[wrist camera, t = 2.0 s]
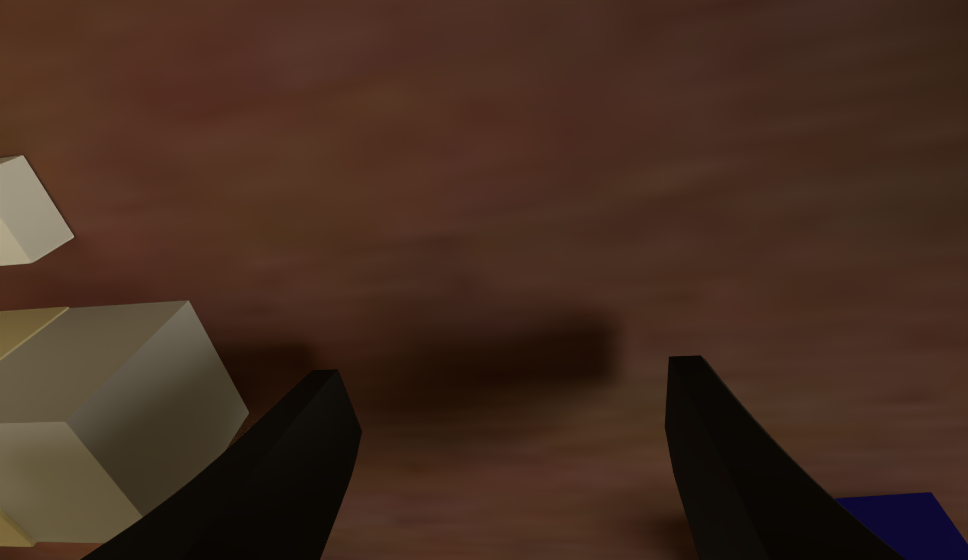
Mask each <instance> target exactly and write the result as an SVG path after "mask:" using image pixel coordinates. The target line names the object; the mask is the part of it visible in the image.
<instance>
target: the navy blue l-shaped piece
mask: <svg viewBox="0 0 968 560" xmlns="http://www.w3.org/2000/svg"><path fill="white" fill-rule="evenodd" d="M835 500H836V501H837V502H838V503H839V504H841V505H842V506H843V507H844V508H845V509H846V510H847V511H849V512H850V513H851V514H852V515H853V516H854V517H856V518H857V519H858V520H859V521H860V522H861V523H862V524H864V525H865V526H866V527H867V528H868V529H870V530H871V531H872V532H873V533H874V534H876V535H877V536H878V537H879V538H880V539H882V540H883V541H884V542H885V543H887V544H888V545H889V546H890V547H891V548H893V549H894V550H895V551H896V552H898V553H899V554H900V555H901V556H903V557H904V558H905V559H906V560H968V544H967V543H966V541H965V540H964V538H963V537H962V535H961V534H960V533H959V531H958V530H957V528H956V527H955V526H954V524H953V523H952V521H951V520H950V518H949V517H948V516H947V514H946V513H945V511H944V510H943V508H942V507H941V506H940V504H939V503H938V501H937V500H936V498H935V497H934V496H933V494H932V493H931V492H930V493H914V494H899V495H883V496H868V497H852V498H836V499H835Z"/></svg>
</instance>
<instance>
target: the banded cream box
mask: <svg viewBox="0 0 968 560" xmlns="http://www.w3.org/2000/svg"><path fill="white" fill-rule="evenodd" d="M248 414H249V411H248V410H247V408H246V406H245V404H244V402H243V400H242V398H241V397H240V395H239V393H238V391H237V389H236V387H235V385H234V384H233V382H232V380H231V378H230V376H229V374H228V372H227V371H226V369H225V367H224V365H223V363H222V361H221V359H220V358H219V356H218V354H217V352H216V350H215V348H214V346H213V345H212V343H211V341H210V339H209V337H208V335H207V333H206V332H205V330H204V328H203V326H202V324H201V322H200V320H199V319H198V317H197V315H196V313H195V311H194V309H193V307H192V306H191V304H190V302H189V300H186V301H171V302H155V303H140V304H125V305H110V306H95V307H80V308H69V307H56V308H41V309H26V310H11V311H0V546H16V547H33V546H34V545H35V544H36V543H37V542H77V543H106V542H107V541H109V540H110V539H112V538H113V537H115V536H116V535H118V534H119V533H121V532H122V531H124V530H125V529H127V528H128V527H130V526H131V525H133V524H134V523H135V522H137V521H138V520H140V519H141V518H142V517H144V516H145V515H147V514H148V513H149V512H151V511H152V510H153V509H155V508H156V507H157V506H159V505H160V504H161V503H163V502H164V501H165V500H167V499H168V498H169V497H171V496H172V495H173V494H174V493H176V492H177V491H178V490H180V489H181V488H182V487H183V486H185V485H186V484H187V483H188V482H190V481H191V480H192V479H193V478H194V477H196V476H197V475H198V474H199V473H200V472H202V471H203V470H204V469H205V468H206V467H207V466H208V465H210V464H211V463H212V462H213V461H214V460H215V459H217V458H218V457H219V456H220V455H221V454H222V453H223V452H225V450H226V449H227V447H228V445H229V444H230V442H231V441H232V439H233V438H234V436H235V434H236V433H237V431H238V430H239V428H240V427H241V425H242V424H243V422H244V420H245V419H246V417H247V416H248Z"/></svg>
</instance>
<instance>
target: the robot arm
mask: <svg viewBox="0 0 968 560" xmlns="http://www.w3.org/2000/svg"><path fill="white" fill-rule="evenodd" d="M665 430H666V436H667V441H668V447H669V452H670V458H671V463H672V468H673V473H674V477H675V480H676V483H677V487H678V490H679V493H680V497H681V500H682V503H683V507H684V510H685V513H686V517H687V520H688V523H689V526H690V530H691V533H692V536H693V539H694V543H695V546H696V549H697V552H698V556H699V559H700V560H906V559H905V558H904V557H903V556H901V555H900V554H899V553H898V552H896V551H895V550H894V549H893V548H891V547H890V546H889V545H888V544H887V543H885V542H884V541H883V540H882V539H880V538H879V537H878V536H877V535H876V534H874V533H873V532H872V531H871V530H870V529H868V528H867V527H866V526H865V525H864V524H862V523H861V522H860V521H859V520H858V519H857V518H856V517H854V516H853V515H852V514H851V513H850V512H849V511H847V510H846V509H845V508H844V507H843V506H842V505H841V504H839V503H838V502H837V501H836V500H835V499H834V498H833V497H832V496H831V495H830V494H828V493H827V492H826V491H825V490H824V489H823V488H822V487H821V486H820V485H819V484H818V483H817V482H816V481H815V480H813V479H812V478H811V477H810V476H809V475H808V474H807V473H806V472H805V471H804V470H803V469H802V468H801V467H800V466H799V465H798V464H797V463H796V462H795V461H794V460H793V459H792V458H791V457H790V456H789V455H788V454H787V453H786V452H785V451H784V450H783V449H782V448H781V447H780V446H779V445H778V444H777V443H776V441H775V440H774V439H773V438H772V437H771V436H770V435H769V434H768V433H767V432H766V431H765V430H764V428H763V427H762V426H761V425H760V424H759V423H758V422H757V421H756V420H755V419H754V418H753V417H752V415H751V414H750V413H749V412H748V411H747V410H746V409H745V407H744V406H743V405H742V404H741V403H740V402H739V400H738V399H737V398H736V397H735V396H734V395H733V393H732V392H731V391H730V390H729V389H728V387H727V386H726V385H725V384H724V383H723V381H722V380H721V379H720V378H719V376H718V375H717V374H716V372H715V371H714V370H713V369H712V367H711V366H710V365H709V364H708V362H707V361H706V360H705V359H704V358H703V357H702V356H701V355H699V356H673V357H669V365H668V382H667V399H666V416H665ZM361 434H362V430H361V428H360V425H359V422H358V420H357V417H356V415H355V412H354V409H353V407H352V404H351V402H350V399H349V396H348V394H347V391H346V389H345V386H344V383H343V381H342V378H341V376H340V373H339V370H338V369H336V370H313V371H312V372H311V373H310V374H308V375H307V376H306V377H305V378H304V379H303V380H302V381H301V382H299V383H298V384H297V385H296V386H295V387H294V388H293V389H292V390H291V391H290V392H289V393H288V394H287V395H286V396H284V397H283V398H282V399H281V400H280V401H279V402H278V403H277V404H276V405H275V406H274V407H273V408H272V409H271V410H270V411H269V412H268V413H266V414H265V415H264V416H263V417H262V418H261V419H260V420H259V421H258V422H257V423H256V424H255V425H254V426H252V427H251V428H250V429H249V430H248V431H247V432H246V433H245V434H244V435H243V436H242V437H241V438H240V439H238V440H237V441H236V442H235V443H234V444H233V445H232V446H230V447H229V448H228V449H227V450H226V451H225V452H223V453H222V454H221V455H220V456H219V457H218V458H217V459H215V460H214V461H213V462H212V463H211V464H210V465H208V466H207V467H206V468H205V469H204V470H203V471H202V472H200V473H199V474H198V475H197V476H196V477H194V478H193V479H192V480H191V481H190V482H188V483H187V484H186V485H185V486H183V487H182V488H181V489H180V490H178V491H177V492H176V493H174V494H173V495H172V496H171V497H169V498H168V499H167V500H165V501H164V502H163V503H161V504H160V505H159V506H157V507H156V508H155V509H153V510H152V511H151V512H149V513H148V514H147V515H145V516H144V517H142V518H141V519H140V520H138V521H137V522H135V523H134V524H133V525H131V526H130V527H128V528H127V529H125V530H124V531H122V532H121V533H119V534H118V535H116V536H115V537H113V538H112V539H110V540H109V541H107V542H106V543H104V544H103V545H101V546H100V547H99V548H97V549H96V550H94V551H93V552H91V553H90V554H88V555H87V556H85V557H84V558H82V559H81V560H320V558H321V556H322V553H323V550H324V548H325V545H326V543H327V540H328V537H329V535H330V532H331V529H332V527H333V524H334V522H335V519H336V516H337V514H338V511H339V508H340V506H341V503H342V500H343V498H344V495H345V492H346V490H347V487H348V484H349V481H350V479H351V476H352V472H353V469H354V465H355V461H356V457H357V452H358V448H359V443H360V439H361Z"/></svg>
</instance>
